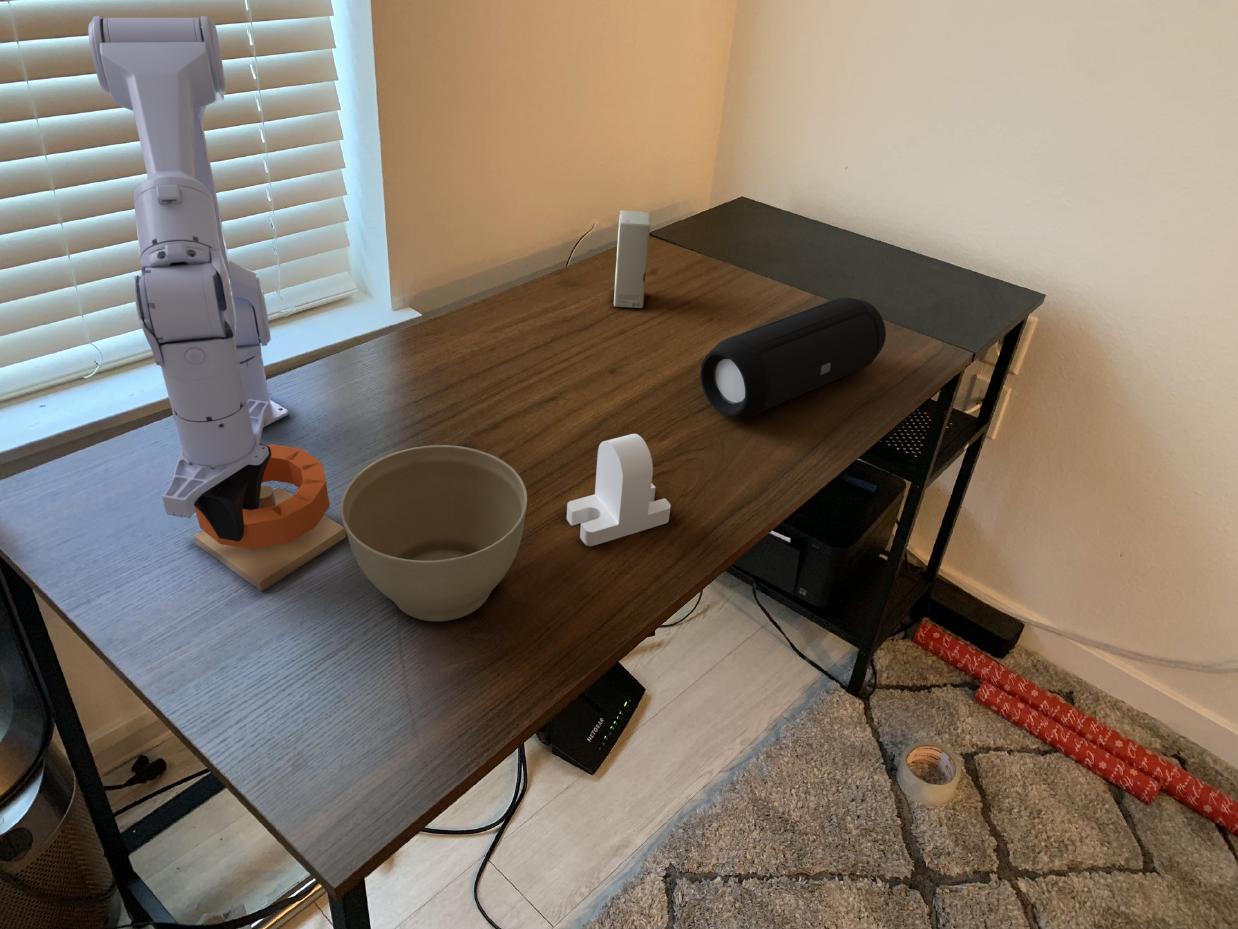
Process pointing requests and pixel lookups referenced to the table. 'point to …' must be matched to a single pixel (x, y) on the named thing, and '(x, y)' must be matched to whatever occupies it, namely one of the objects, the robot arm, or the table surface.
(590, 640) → the table surface
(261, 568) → the peg stand
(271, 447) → the rubber ring
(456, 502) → the planter bowl
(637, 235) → the box
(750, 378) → the portable speaker
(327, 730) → the table surface
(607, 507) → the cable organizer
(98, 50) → the robot arm
